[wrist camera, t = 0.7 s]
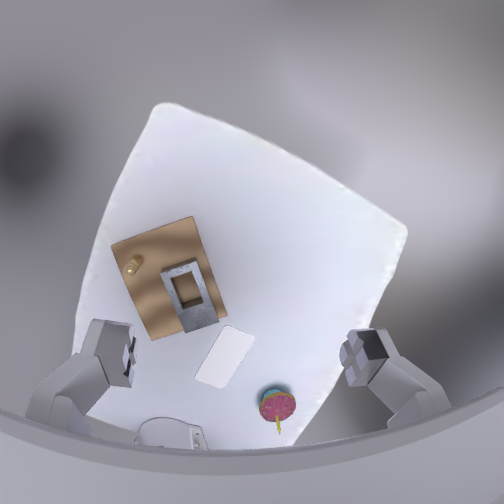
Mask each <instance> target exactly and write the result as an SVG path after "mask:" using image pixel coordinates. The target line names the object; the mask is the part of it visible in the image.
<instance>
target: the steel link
mask: <svg viewBox="0 0 504 504" xmlns="http://www.w3.org/2000/svg"><path fill="white" fill-rule="evenodd" d="M189 271H192V273H193V275H194V278H195V281H196V283H197V286H198V289H199V291H200V294H201V296H202V297H199V298H196V299H193V300H190V301H187V302H184V303H183V301H182V299H181V296H180V294H179V292H178V289H177V287H176V284H175V281H174V279H173V277H175V276H178V275H181V274H183V273H186V272H189ZM160 274H161V277H162V279H163V282H164V284H165V287H166V289H167V292H168V294H169V297H170V299H171V301H172V304H173V306H174V308H175V311H176V313H177V315H178V318H179V320H180V322H181V325H182V327H183V329H184V331H185V333H188V332H191V331H194V330H197V329H200V328H203V327H206V326H209V325H212V324H214V323H217V322H219V319H218V315H217V312H216V309H215V307H214V304H213V302H212V299H211V296H210V294H209V291H208V288H207V286H206V283H205V280H204V277H203V275H202V272H201V269H200V266H199V264H198V261H197V258H196V257H193V258H191V259H188V260H185V261H182V262H179V263H176V264H173V265H171V266H168V267H165V268H162V270H161V273H160Z"/></svg>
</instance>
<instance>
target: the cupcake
mask: <svg viewBox="0 0 504 504" xmlns="http://www.w3.org/2000/svg"><path fill="white" fill-rule="evenodd" d="M295 408H296V402H295V398H294V396H293V395H291V394H289V393H285V392H282V391H281V390H279V389H271V390H269V391H267V392H266V393H265V394H264V396H263V401H262V402H261V404H260V407H259V411H260V414H261V416H262V417H263V418H264V419H265V420H266V421H270V422H276V424H277V429H278V432H279V434H280V431H281V428H280V423H279V421H282V420H285V419H287V418H288V417H289V416H290V415H291V414H293V412H294V410H295Z"/></svg>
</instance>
